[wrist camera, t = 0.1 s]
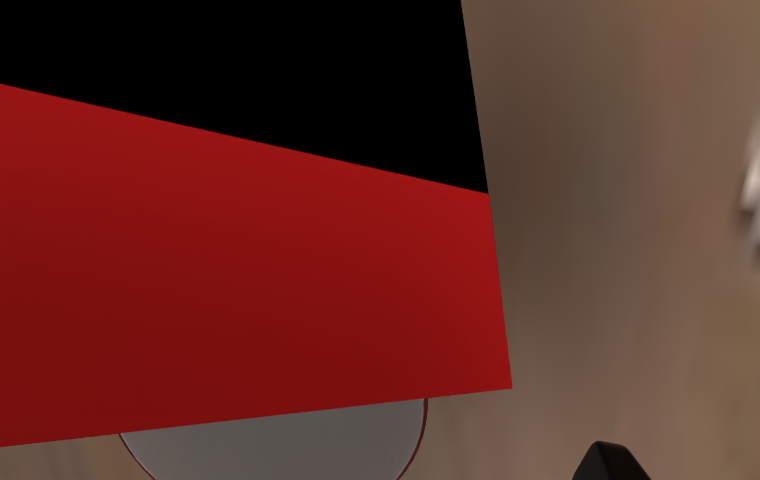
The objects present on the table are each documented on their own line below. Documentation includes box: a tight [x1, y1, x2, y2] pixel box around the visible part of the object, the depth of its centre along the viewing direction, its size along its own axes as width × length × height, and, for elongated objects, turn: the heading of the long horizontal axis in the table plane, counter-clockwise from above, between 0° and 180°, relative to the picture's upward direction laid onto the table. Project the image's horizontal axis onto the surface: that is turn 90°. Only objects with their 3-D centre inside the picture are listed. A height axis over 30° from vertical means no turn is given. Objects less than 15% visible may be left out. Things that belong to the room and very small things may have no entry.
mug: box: [119, 398, 428, 480], centre depth 20 cm, size 11×8×10 cm
